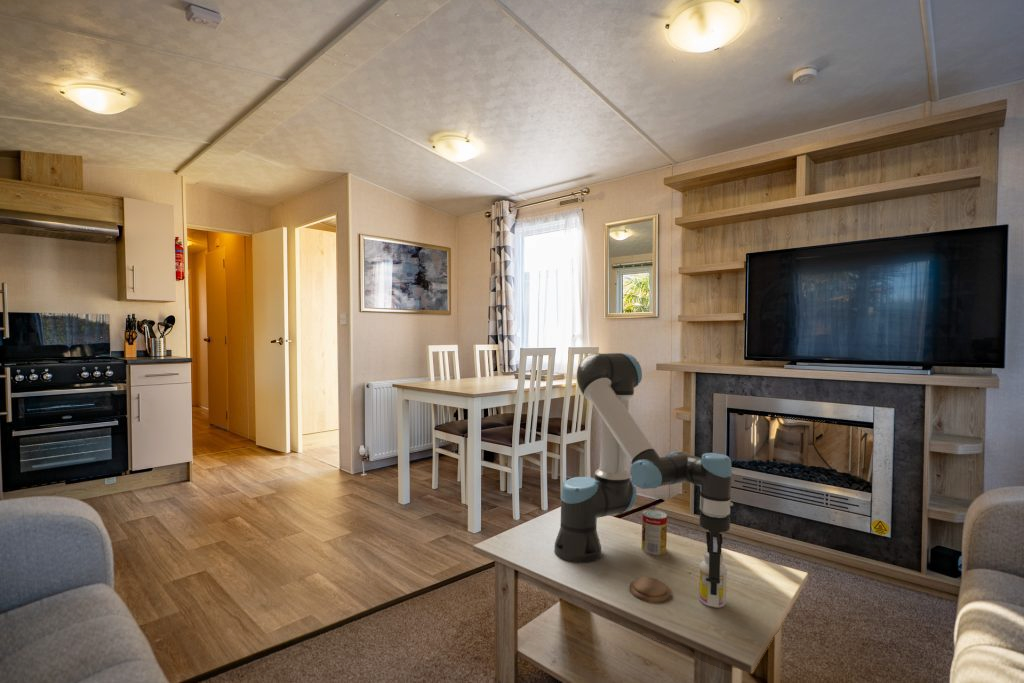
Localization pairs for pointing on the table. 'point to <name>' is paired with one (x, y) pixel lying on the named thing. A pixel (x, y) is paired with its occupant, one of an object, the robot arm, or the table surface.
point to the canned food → (654, 532)
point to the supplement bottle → (704, 584)
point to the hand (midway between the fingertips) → (712, 598)
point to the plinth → (650, 590)
